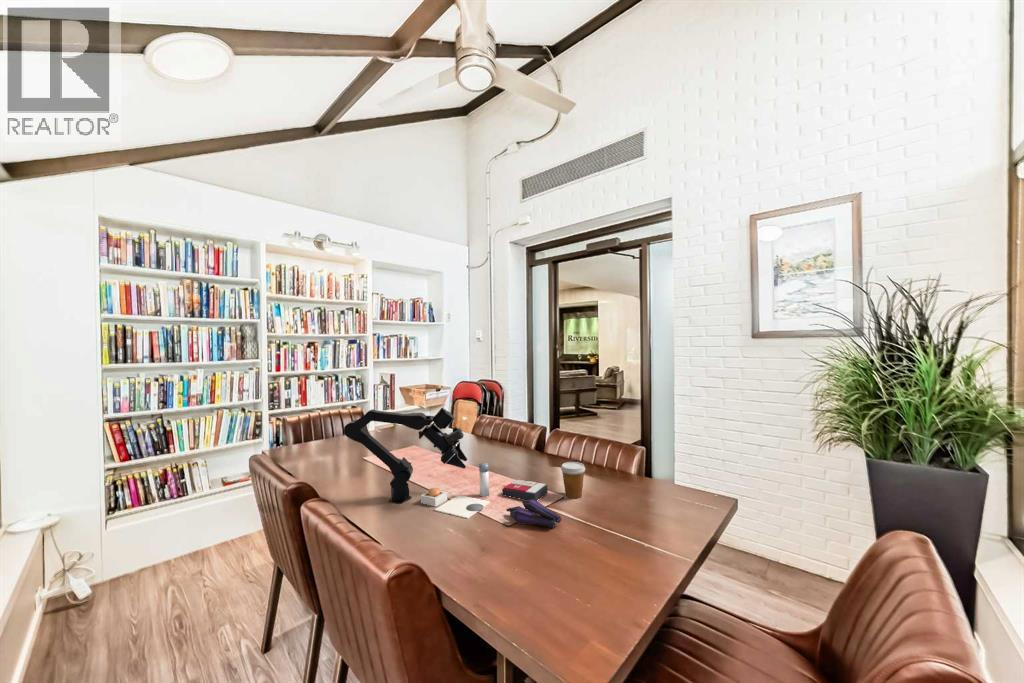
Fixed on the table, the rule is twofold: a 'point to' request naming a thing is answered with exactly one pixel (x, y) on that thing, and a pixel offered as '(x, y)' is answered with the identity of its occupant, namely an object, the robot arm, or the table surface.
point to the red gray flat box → (525, 490)
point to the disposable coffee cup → (573, 479)
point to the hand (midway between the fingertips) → (465, 464)
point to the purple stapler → (534, 514)
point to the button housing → (434, 499)
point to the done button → (434, 492)
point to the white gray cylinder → (484, 479)
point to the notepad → (462, 506)
